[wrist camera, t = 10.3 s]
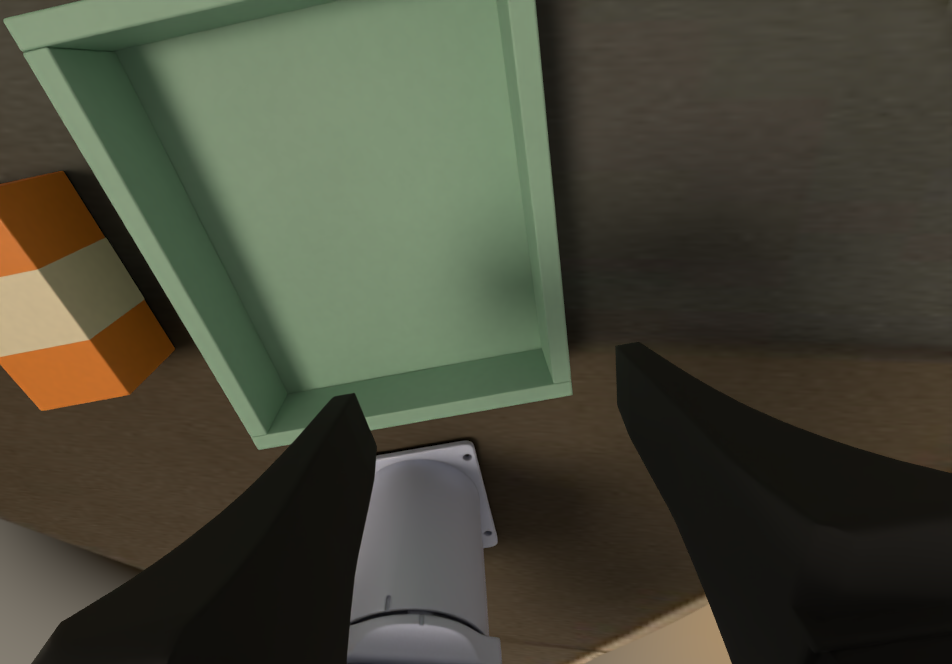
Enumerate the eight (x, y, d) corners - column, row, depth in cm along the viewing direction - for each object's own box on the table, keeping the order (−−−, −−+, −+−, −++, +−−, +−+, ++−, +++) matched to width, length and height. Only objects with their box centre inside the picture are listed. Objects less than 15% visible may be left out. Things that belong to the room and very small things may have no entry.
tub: (556, 351, 23) (572, 395, 20) (283, 400, 24) (258, 450, 21) (510, -67, 15) (525, -105, 11) (91, 29, 15) (0, 18, 12)
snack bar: (176, 348, 22) (130, 395, 19) (99, 363, 22) (40, 412, 19) (64, 169, 18) (-20, 191, 14) (-31, 190, 18) (-135, 215, 15)
